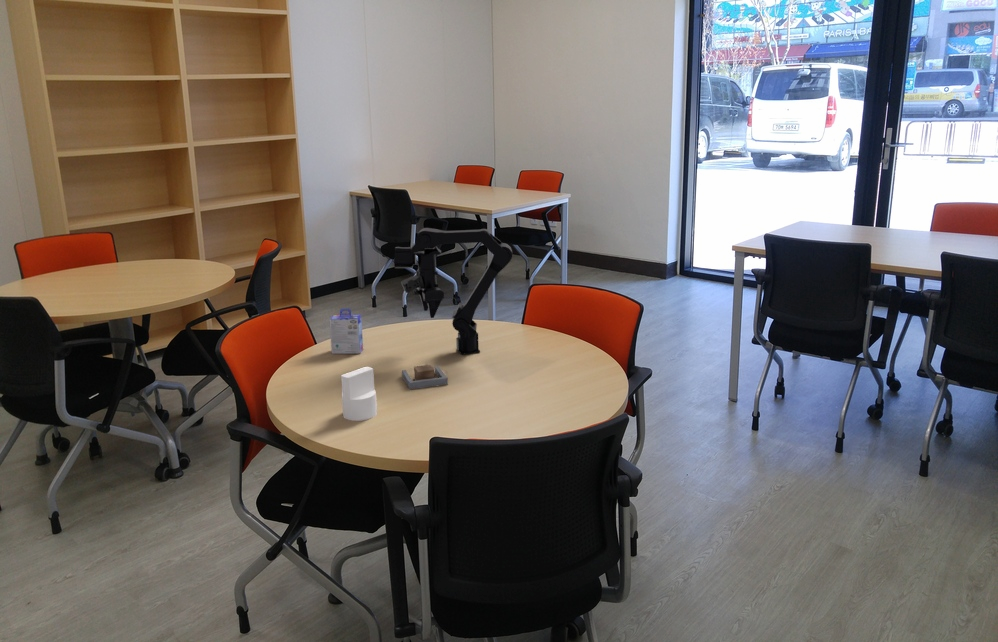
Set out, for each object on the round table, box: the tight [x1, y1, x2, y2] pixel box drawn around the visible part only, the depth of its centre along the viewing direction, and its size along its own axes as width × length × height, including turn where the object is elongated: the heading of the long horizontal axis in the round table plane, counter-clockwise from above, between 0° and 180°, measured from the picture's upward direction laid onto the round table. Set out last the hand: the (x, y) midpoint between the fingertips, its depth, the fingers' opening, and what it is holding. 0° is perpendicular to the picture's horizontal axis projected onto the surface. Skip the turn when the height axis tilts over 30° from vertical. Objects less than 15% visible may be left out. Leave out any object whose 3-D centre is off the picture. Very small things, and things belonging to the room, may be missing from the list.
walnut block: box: [413, 364, 436, 381], centre depth 226 cm, size 5×5×4 cm
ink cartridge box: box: [328, 308, 364, 355], centre depth 252 cm, size 10×6×14 cm, turn 89°
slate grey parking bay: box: [401, 365, 449, 390], centre depth 226 cm, size 11×11×2 cm
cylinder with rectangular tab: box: [340, 366, 378, 422], centre depth 202 cm, size 9×9×12 cm
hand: (428, 314), depth 249 cm, fingers open, 9 cm apart
